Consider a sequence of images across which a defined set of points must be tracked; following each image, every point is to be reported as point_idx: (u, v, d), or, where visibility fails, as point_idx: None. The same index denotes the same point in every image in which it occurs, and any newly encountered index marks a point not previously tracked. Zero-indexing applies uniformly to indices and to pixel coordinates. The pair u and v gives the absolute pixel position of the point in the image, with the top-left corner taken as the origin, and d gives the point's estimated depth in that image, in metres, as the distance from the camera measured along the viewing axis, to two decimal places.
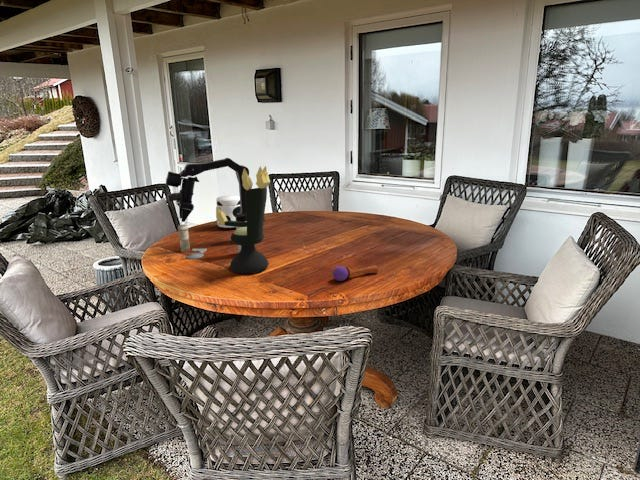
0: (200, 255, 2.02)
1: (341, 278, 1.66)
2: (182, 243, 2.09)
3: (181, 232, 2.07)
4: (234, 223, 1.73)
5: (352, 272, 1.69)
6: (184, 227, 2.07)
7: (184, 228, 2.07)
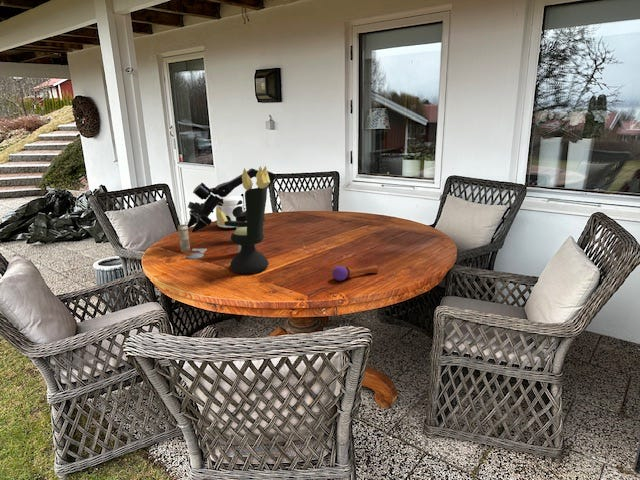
0: (200, 255, 2.02)
1: (341, 278, 1.67)
2: (182, 243, 2.09)
3: (181, 232, 2.07)
4: (234, 223, 1.73)
5: (352, 272, 1.70)
6: (184, 227, 2.07)
7: (184, 228, 2.07)
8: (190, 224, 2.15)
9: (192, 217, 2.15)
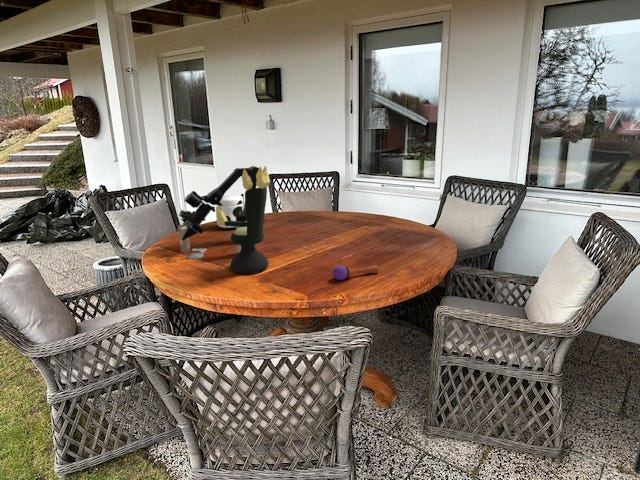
0: (200, 255, 2.02)
1: (340, 277, 1.67)
2: (182, 243, 2.09)
3: (181, 232, 2.07)
4: (234, 223, 1.73)
5: (352, 271, 1.70)
6: (184, 227, 2.07)
7: (184, 228, 2.07)
8: None
9: None
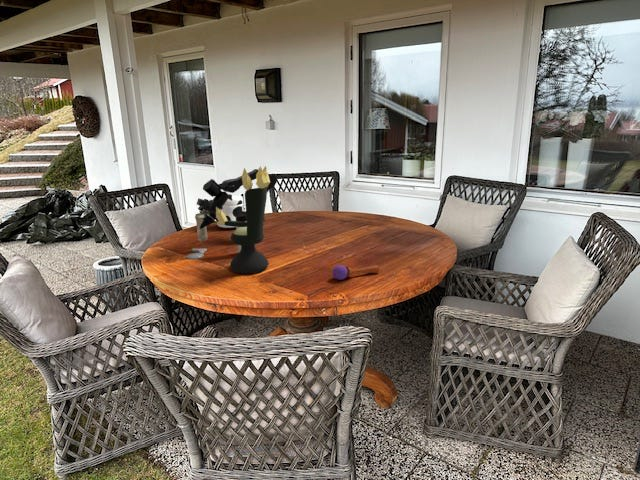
0: (200, 255, 2.02)
1: (340, 277, 1.67)
2: (199, 232, 2.06)
3: (198, 221, 2.05)
4: (234, 223, 1.73)
5: (352, 271, 1.70)
6: (201, 215, 2.04)
7: (201, 216, 2.04)
8: None
9: None
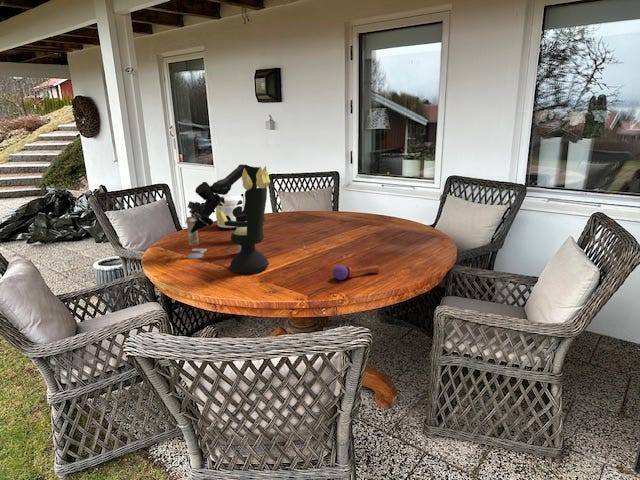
0: (200, 255, 2.02)
1: (341, 277, 1.67)
2: (190, 236, 1.98)
3: (190, 224, 1.96)
4: (234, 223, 1.73)
5: (352, 271, 1.70)
6: (193, 219, 1.96)
7: (193, 220, 1.96)
8: None
9: None
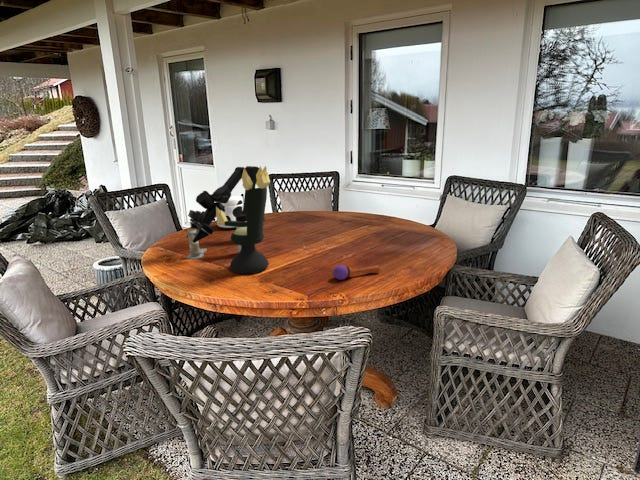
0: (200, 255, 2.02)
1: (341, 277, 1.67)
2: (192, 247, 1.99)
3: (191, 236, 1.98)
4: (234, 223, 1.73)
5: (352, 271, 1.70)
6: (194, 231, 1.97)
7: (194, 232, 1.97)
8: None
9: (193, 226, 2.04)
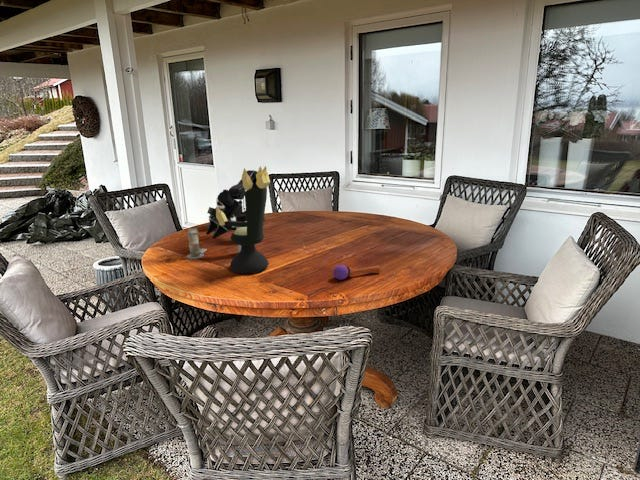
0: (200, 255, 2.02)
1: (341, 277, 1.68)
2: (192, 247, 1.99)
3: (191, 236, 1.98)
4: (234, 223, 1.73)
5: (353, 271, 1.70)
6: (194, 231, 1.97)
7: (194, 232, 1.97)
8: (210, 230, 2.09)
9: (212, 223, 2.09)
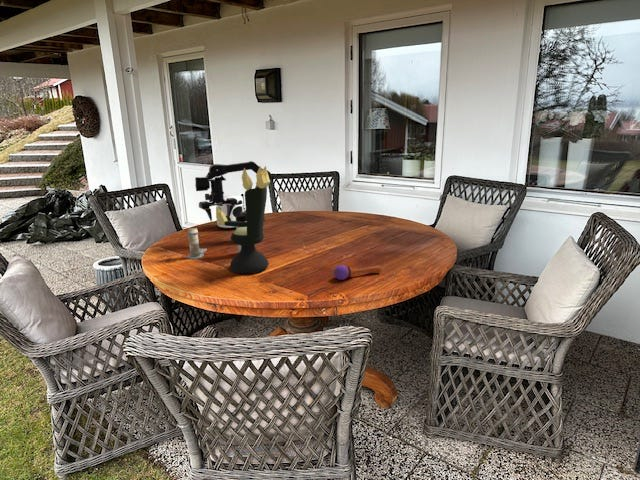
0: (200, 255, 2.02)
1: (341, 277, 1.68)
2: (192, 247, 1.99)
3: (191, 236, 1.98)
4: (234, 223, 1.73)
5: (353, 271, 1.70)
6: (194, 231, 1.97)
7: (194, 232, 1.97)
8: (227, 213, 2.20)
9: (227, 206, 2.20)
